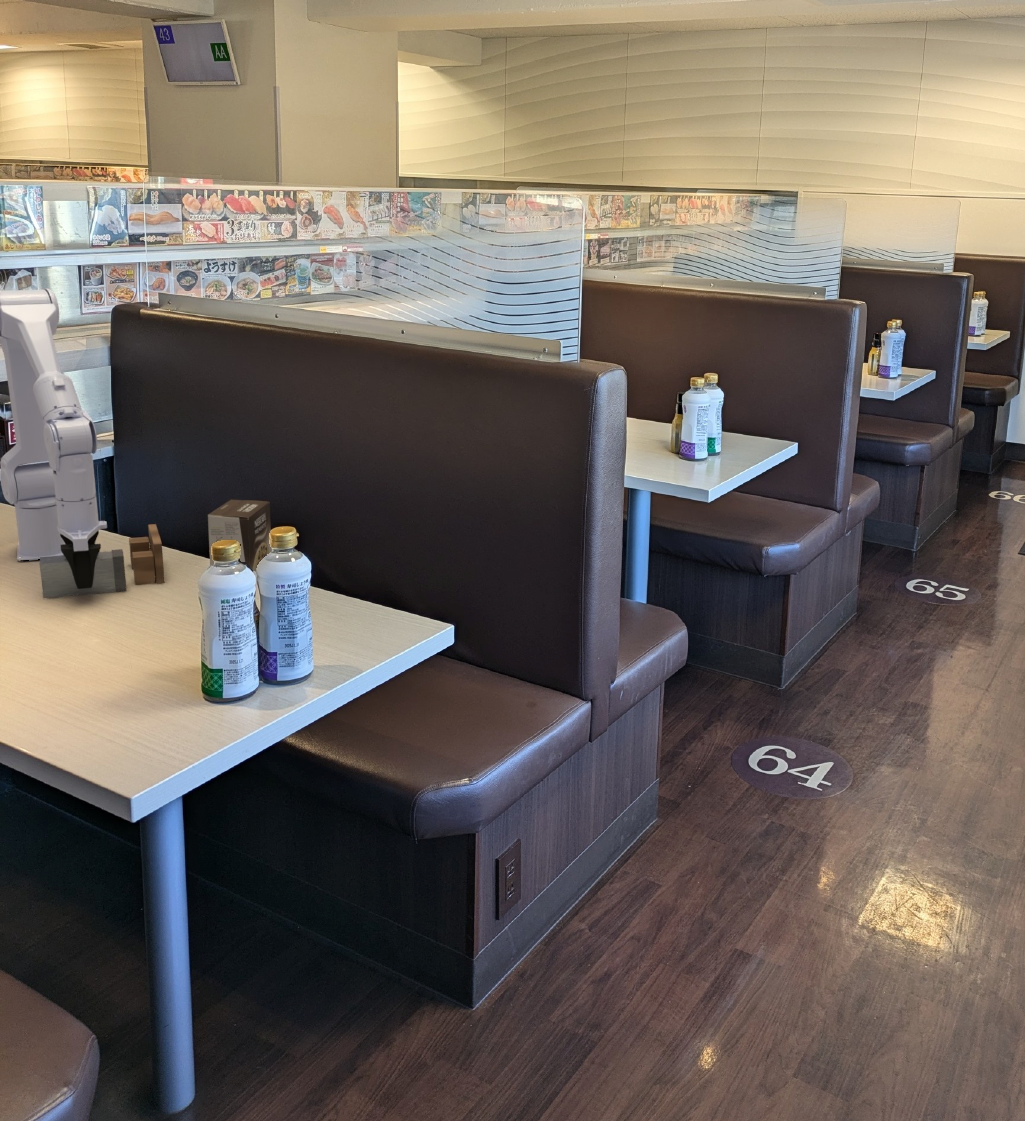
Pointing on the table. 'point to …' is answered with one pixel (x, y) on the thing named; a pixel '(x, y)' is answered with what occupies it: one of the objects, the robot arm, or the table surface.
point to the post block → (147, 557)
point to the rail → (62, 582)
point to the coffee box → (242, 528)
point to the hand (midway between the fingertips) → (84, 581)
